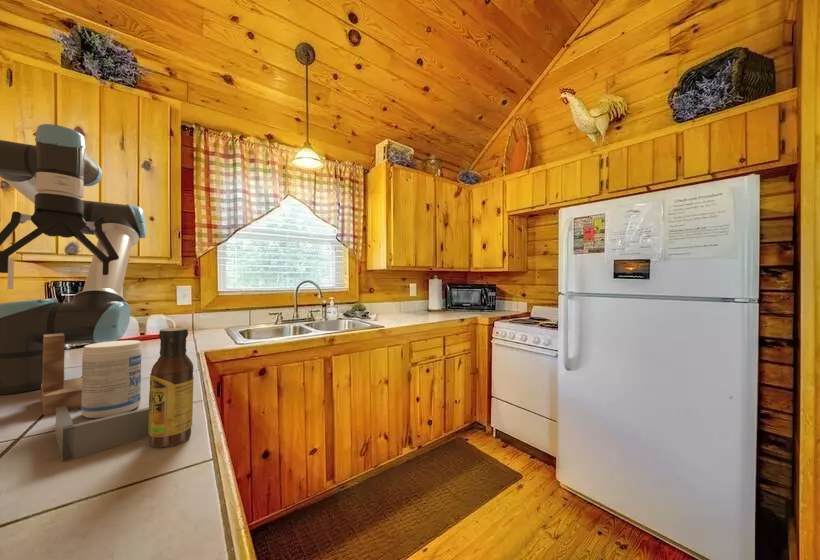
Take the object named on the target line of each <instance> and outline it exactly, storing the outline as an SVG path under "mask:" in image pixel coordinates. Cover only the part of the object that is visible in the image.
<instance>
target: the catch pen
mask: <svg viewBox="0 0 820 560" xmlns="http://www.w3.org/2000/svg"><path fill="white" fill-rule="evenodd" d="M148 425H149V406H148V407H144V408H140V409H134V410H131V411H128V412H125V413H122V414H118V415H113V416H109V417H102V418H95V419H94V420H93V419H91V420H88V421H83V422H79V423H75V424H74V422H73V419H72V418H71V414H70V413H69V410H67V407H66V406H62V407H57V408H56V413H55V436H54V437H55V440H56V443H57V446H58V450H59V454H60V458H61V461H62V462H66V461H70V460H73V459H77V458H80V457H85V456H88V455H91V454H94V453H98V452H100V451H101V452H102V451H104V450H107V449H112V448H115V447H119V446H122V445H125V444H128V443H129V444H130V443H133V442H136V441H139V440H143V439H146V438H149V437H150V435H149V434H148Z"/></svg>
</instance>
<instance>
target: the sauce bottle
mask: <svg viewBox="0 0 820 560" xmlns="http://www.w3.org/2000/svg"><path fill="white" fill-rule="evenodd" d="M158 335H159V336H158V338H159V340H160V349H159V357H158V359H157V360H156V362H155V363H154V364H153V365H152V368H151V372H150V374H149V377H150V378H149V395H148V397H149V398H148V407H149V425H148V434H149V435H150V437H148V438H149V439H148V442H149V445H150V446H153V447H155V448H167V447H172V446H173V447H174V446H177V445H179V444H182V443H184V442H185V441H187V440H189V439H190V437H191V435H192V426H193V412H194V407H193V406H194V383H195V382H194V364H193V362H192V360H191V359H190V358H189V356H188V355H187V349H188V348H187V337H188V335H189V331H188V328H187V327H183V326H182V327H180V326H179V327H167V328H161V329H160V330H159V333H158Z"/></svg>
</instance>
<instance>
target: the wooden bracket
mask: <svg viewBox="0 0 820 560" xmlns="http://www.w3.org/2000/svg"><path fill="white" fill-rule="evenodd" d="M65 348H66V345H65V335H64V334H63V333H59V334H46V335H43V371H42V384H41V389H40V404H41V409H42V412H43V416H47V415H52V414H56V408H57V407H62V406H66V407H67V410H68V411H72V410H76V409H81V402H82V377H78V378H72V379H71V378H70V379H65Z"/></svg>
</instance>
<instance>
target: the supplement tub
mask: <svg viewBox="0 0 820 560" xmlns="http://www.w3.org/2000/svg"><path fill="white" fill-rule="evenodd" d="M81 361H82V362H81V363H82V365H81V378H82V402H81V408H80V410H81V412H80V413H81V415H82V416H83V417H85V418H87V419H100V418H105V417H109V416H113V415H118V414H122V413H126V412H131V411H134V410H136V408H138V407H139V406H140V405H141V401H142V400H141V398H142V396H141V395H142V393H141V392H142V386H141V385H142V341H141V340H133V339H132V340H131V339H130V340H116V341H110V342H101V343H88V344H85V345H84V346H83V351H82V360H81Z"/></svg>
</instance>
